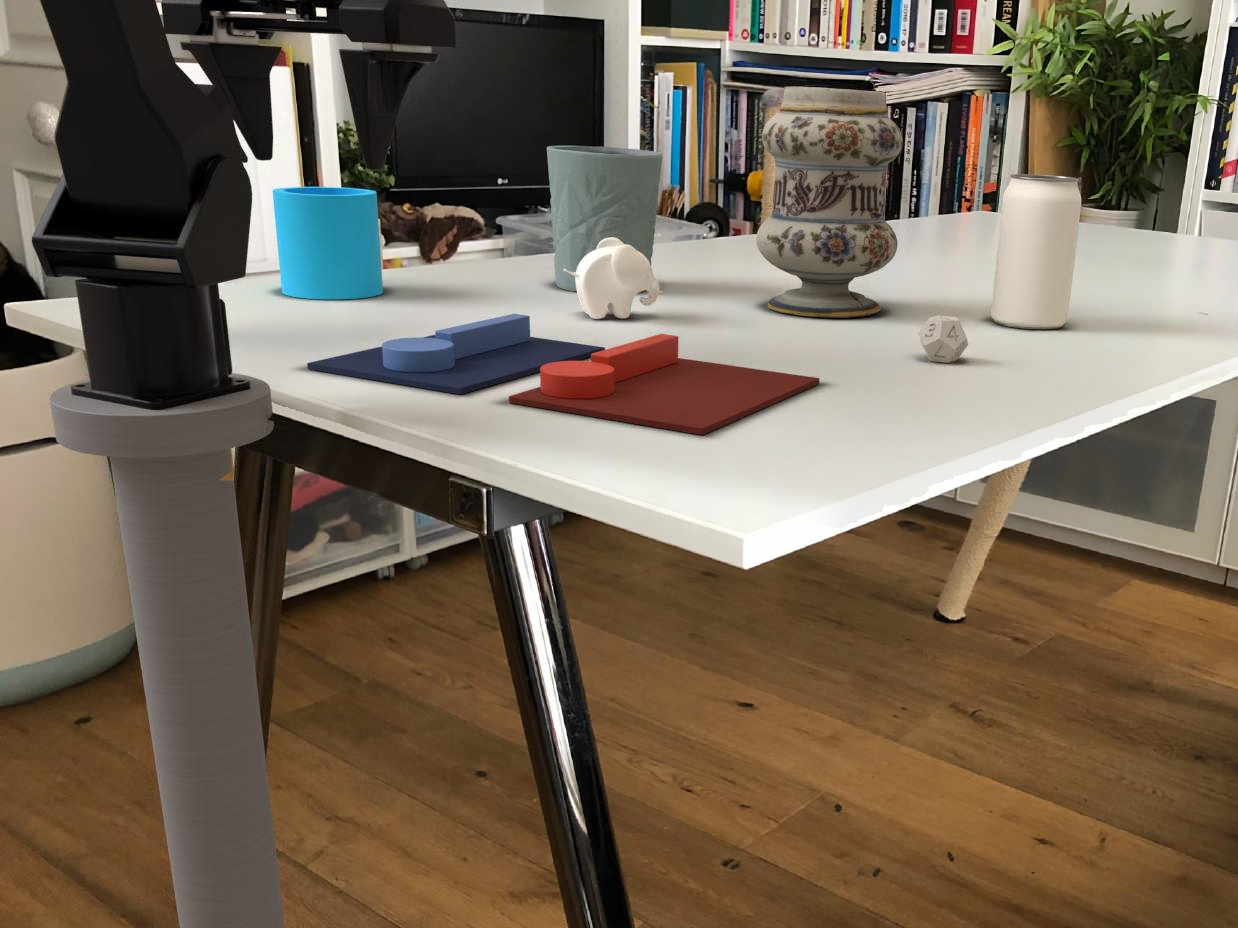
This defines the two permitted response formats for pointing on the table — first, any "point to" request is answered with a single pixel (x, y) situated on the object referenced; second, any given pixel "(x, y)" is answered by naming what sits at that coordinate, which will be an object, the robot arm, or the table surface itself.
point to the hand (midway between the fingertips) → (318, 165)
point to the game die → (943, 339)
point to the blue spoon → (455, 344)
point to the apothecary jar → (829, 197)
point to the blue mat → (462, 365)
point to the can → (1036, 251)
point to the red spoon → (607, 368)
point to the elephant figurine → (614, 279)
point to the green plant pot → (600, 202)
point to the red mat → (682, 396)
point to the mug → (328, 242)
